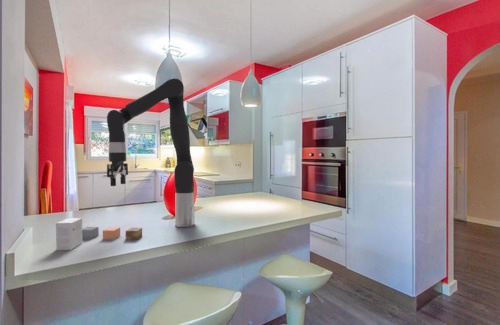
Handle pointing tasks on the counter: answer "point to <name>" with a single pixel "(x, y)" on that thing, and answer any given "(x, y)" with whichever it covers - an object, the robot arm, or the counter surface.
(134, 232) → the walnut block
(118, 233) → the terracotta block
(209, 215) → the counter surface
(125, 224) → the counter surface
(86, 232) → the grey block
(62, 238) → the small box
